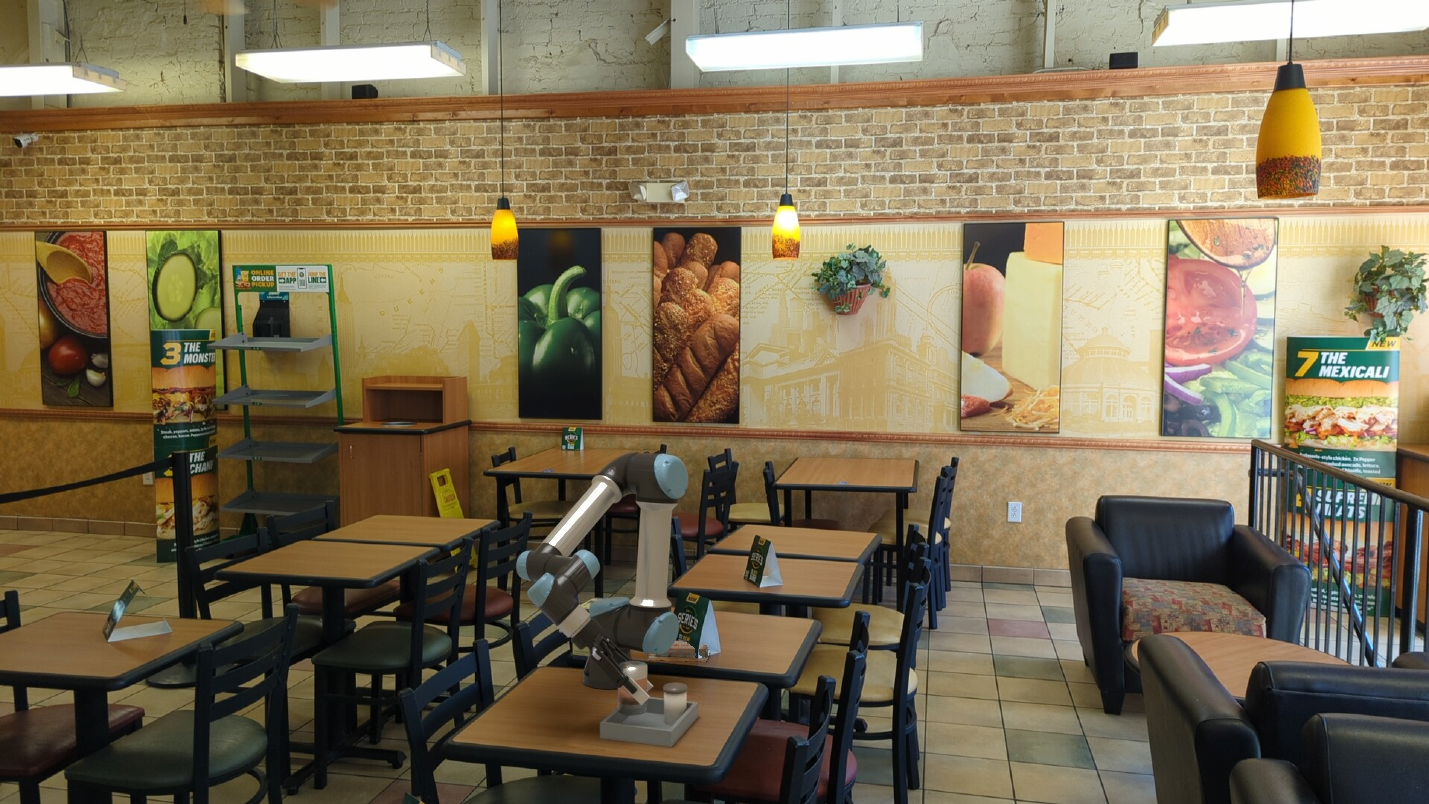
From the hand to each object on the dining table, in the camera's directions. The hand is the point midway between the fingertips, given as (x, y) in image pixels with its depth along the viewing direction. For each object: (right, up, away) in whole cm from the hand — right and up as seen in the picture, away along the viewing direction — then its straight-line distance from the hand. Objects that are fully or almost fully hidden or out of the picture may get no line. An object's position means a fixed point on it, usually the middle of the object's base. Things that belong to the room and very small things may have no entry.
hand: (647, 695), depth 238 cm
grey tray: (+1, -9, +3) cm, 10 cm away
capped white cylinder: (+7, -8, +7) cm, 13 cm away
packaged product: (+6, -7, +62) cm, 62 cm away
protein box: (-19, -7, +65) cm, 68 cm away
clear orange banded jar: (-4, -4, 0) cm, 5 cm away
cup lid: (+7, -1, +6) cm, 9 cm away
